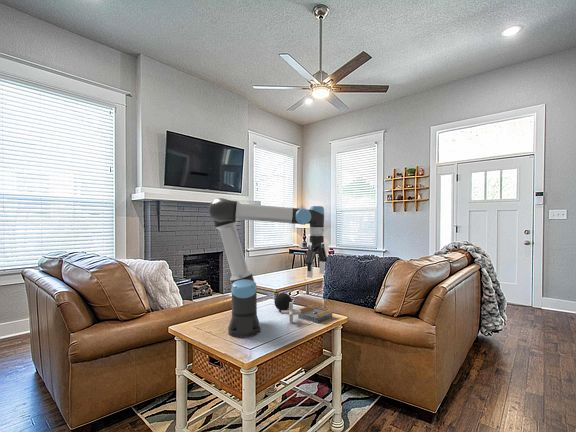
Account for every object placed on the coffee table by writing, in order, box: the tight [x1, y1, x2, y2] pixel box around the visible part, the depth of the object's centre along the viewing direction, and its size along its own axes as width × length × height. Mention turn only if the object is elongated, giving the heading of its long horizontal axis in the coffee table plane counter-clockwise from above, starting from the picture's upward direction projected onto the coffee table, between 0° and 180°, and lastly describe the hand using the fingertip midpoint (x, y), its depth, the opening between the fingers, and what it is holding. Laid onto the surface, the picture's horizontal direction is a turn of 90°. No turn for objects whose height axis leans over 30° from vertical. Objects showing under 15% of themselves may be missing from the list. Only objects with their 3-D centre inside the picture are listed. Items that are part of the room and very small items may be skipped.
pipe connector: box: [280, 301, 301, 324], centre depth 162 cm, size 10×10×10 cm
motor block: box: [297, 304, 333, 324], centre depth 169 cm, size 13×13×4 cm
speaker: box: [273, 292, 293, 312], centre depth 182 cm, size 10×10×10 cm
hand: (316, 275), depth 167 cm, fingers open, 13 cm apart
